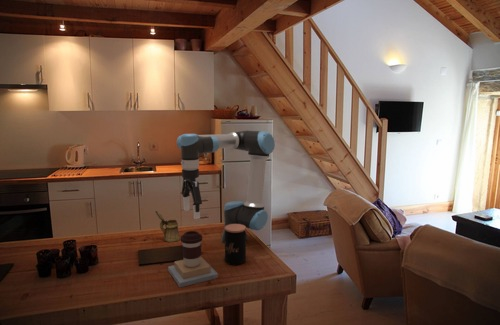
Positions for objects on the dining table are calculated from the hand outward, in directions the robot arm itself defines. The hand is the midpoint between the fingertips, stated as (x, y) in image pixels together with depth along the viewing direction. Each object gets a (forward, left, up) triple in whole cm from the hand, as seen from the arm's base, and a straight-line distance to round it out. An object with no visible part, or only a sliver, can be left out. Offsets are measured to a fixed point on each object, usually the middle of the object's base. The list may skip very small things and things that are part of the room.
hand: (191, 214), depth 158 cm
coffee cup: (0, 0, -24) cm, 24 cm away
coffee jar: (-24, -3, -29) cm, 38 cm away
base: (0, 0, -29) cm, 29 cm away
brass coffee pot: (-2, -47, -29) cm, 55 cm away
